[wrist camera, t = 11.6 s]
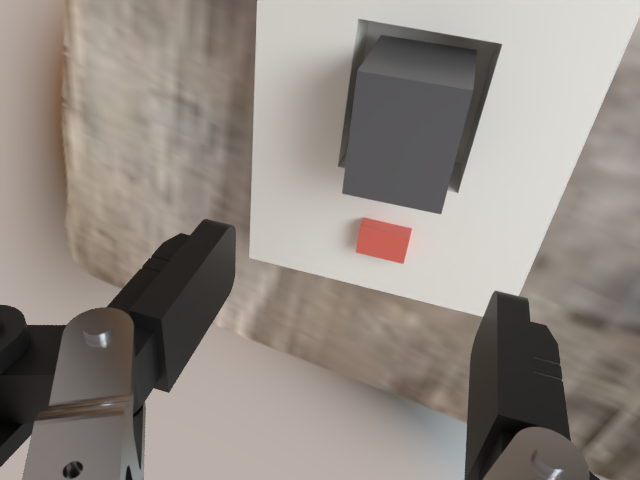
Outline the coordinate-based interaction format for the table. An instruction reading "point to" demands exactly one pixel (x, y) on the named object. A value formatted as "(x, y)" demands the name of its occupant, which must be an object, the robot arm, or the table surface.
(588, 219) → the table surface
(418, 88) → the plug
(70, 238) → the table surface
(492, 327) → the robot arm
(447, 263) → the socket
